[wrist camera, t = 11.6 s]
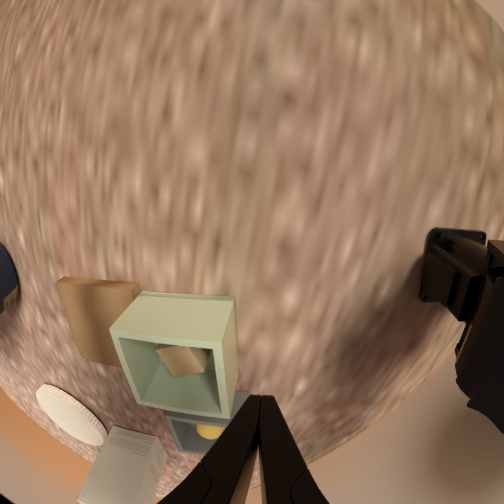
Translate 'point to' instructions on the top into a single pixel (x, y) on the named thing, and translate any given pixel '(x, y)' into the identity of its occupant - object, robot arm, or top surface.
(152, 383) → the pale green hollow box
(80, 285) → the lid
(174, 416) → the grey open box
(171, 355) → the cube
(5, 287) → the canister
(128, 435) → the skincare box
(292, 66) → the top surface
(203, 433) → the ball
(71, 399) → the plastic lid
